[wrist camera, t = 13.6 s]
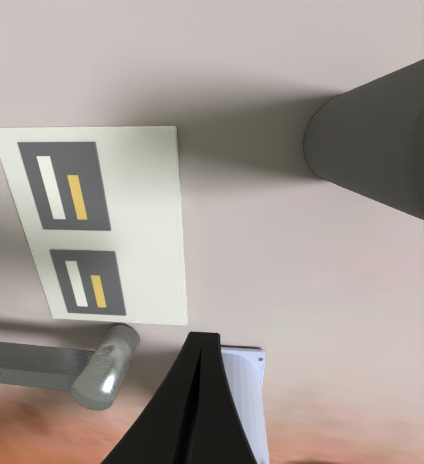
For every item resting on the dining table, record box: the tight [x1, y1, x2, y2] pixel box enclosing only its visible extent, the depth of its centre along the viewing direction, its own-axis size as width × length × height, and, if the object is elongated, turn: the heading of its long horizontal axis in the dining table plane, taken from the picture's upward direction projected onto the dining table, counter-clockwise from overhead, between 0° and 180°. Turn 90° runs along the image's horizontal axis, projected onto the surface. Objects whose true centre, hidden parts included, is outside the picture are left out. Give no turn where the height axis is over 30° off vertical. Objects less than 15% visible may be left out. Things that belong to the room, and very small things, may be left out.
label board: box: [0, 126, 188, 325], centre depth 20 cm, size 18×14×1 cm
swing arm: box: [0, 325, 140, 410], centre depth 22 cm, size 23×4×6 cm, turn 87°
